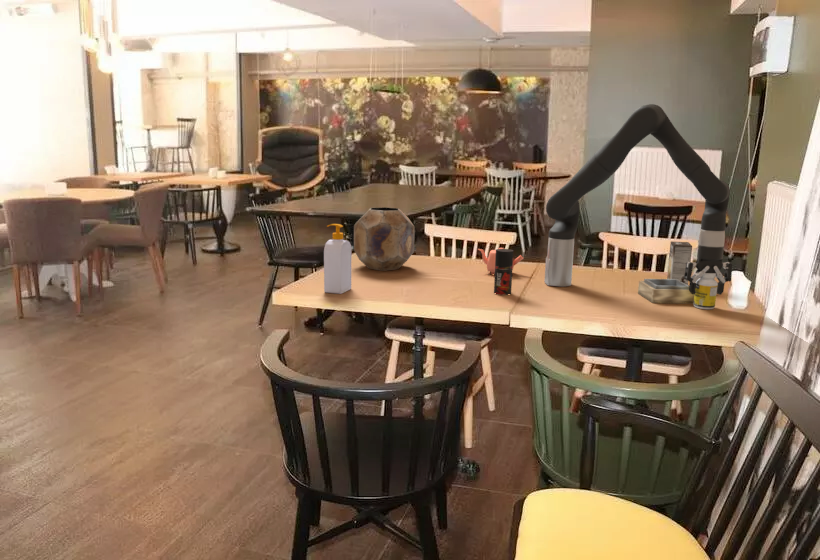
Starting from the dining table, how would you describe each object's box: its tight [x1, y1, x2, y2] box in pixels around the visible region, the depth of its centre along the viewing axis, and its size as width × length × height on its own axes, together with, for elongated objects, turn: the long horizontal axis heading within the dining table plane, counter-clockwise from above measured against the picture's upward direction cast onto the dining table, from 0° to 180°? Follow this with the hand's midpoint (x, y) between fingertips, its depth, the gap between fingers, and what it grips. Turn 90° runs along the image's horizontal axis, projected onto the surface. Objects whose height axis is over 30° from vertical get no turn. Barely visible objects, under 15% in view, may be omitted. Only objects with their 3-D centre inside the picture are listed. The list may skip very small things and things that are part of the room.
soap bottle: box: [323, 223, 352, 295], centre depth 231 cm, size 9×7×23 cm
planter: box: [353, 206, 416, 272], centre depth 273 cm, size 22×24×24 cm
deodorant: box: [493, 248, 514, 296], centre depth 233 cm, size 6×6×15 cm
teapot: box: [477, 247, 524, 275], centre depth 268 cm, size 14×12×10 cm
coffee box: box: [666, 241, 693, 285], centre depth 250 cm, size 9×6×16 cm
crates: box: [637, 278, 695, 305], centre depth 231 cm, size 14×14×6 cm
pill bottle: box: [693, 273, 718, 310], centre depth 219 cm, size 6×6×12 cm
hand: (705, 293), depth 219 cm, fingers open, 8 cm apart
